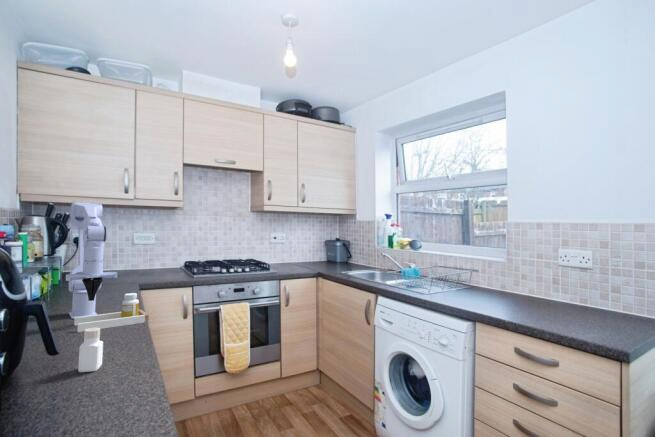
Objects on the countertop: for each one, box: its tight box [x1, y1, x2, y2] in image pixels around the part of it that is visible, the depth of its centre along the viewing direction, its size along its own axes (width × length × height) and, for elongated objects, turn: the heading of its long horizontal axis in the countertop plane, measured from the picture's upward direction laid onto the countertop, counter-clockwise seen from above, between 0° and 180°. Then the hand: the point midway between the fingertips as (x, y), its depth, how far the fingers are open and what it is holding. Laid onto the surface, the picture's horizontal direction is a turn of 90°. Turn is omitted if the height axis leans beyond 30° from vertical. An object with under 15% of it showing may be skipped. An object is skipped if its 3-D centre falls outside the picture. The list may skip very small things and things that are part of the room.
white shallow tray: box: [73, 309, 150, 333], centre depth 119 cm, size 10×21×2 cm, turn 132°
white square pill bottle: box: [77, 328, 104, 373], centre depth 81 cm, size 4×4×10 cm
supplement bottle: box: [120, 292, 140, 318], centre depth 123 cm, size 5×5×10 cm
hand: (91, 300), depth 116 cm, fingers closed
